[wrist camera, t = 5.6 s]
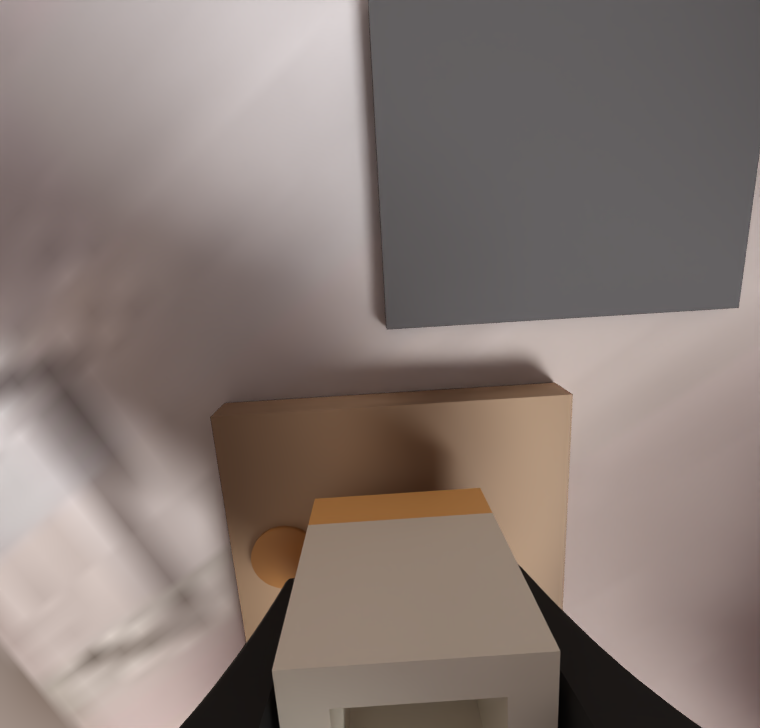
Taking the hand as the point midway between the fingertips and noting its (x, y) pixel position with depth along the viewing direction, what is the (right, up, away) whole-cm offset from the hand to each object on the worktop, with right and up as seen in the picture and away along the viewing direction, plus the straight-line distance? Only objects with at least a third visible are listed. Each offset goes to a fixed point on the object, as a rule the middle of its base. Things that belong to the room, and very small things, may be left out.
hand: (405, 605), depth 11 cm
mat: (+4, +11, +1) cm, 12 cm away
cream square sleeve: (0, 0, +1) cm, 1 cm away
